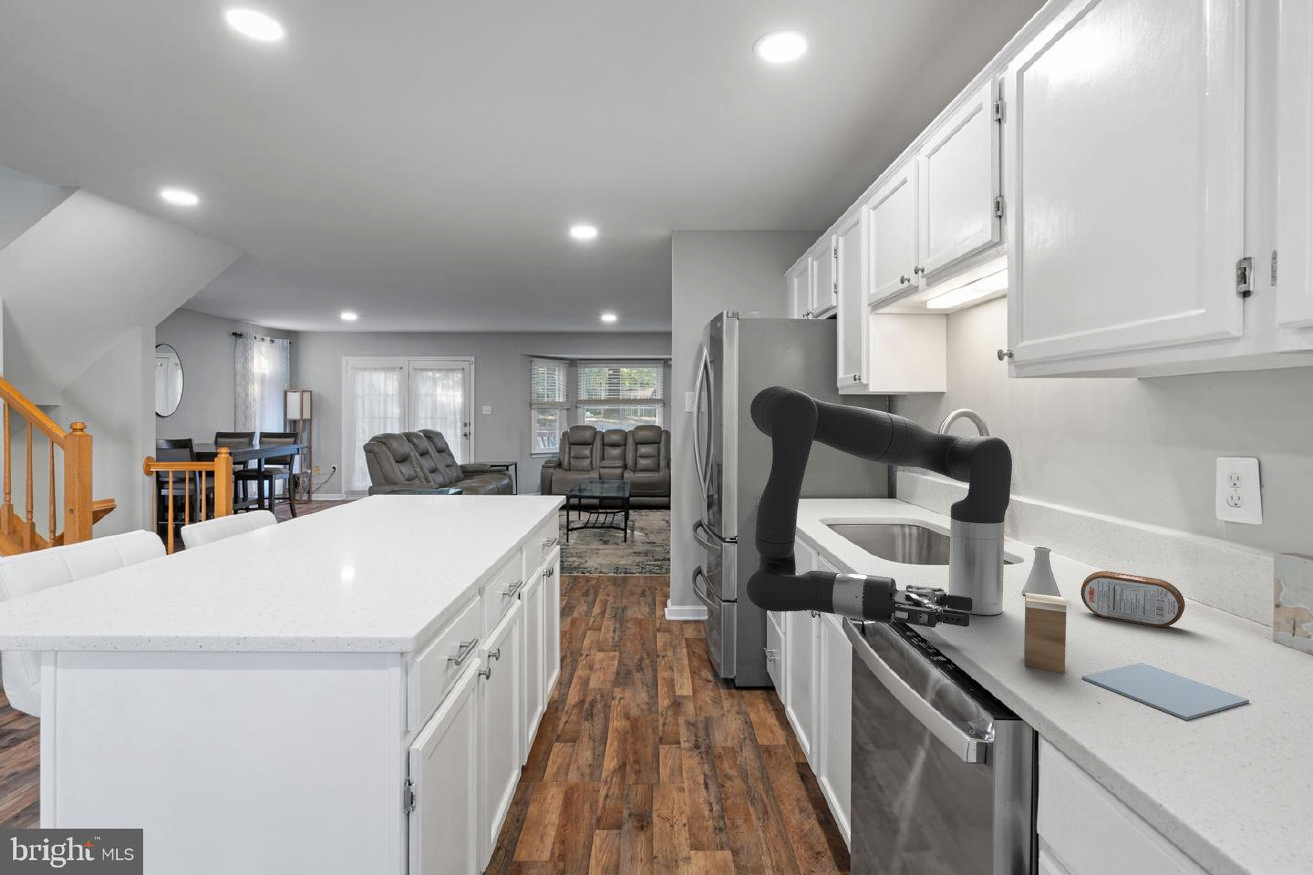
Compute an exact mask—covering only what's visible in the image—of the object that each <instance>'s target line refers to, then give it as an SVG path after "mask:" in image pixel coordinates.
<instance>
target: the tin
mask: <svg viewBox="0 0 1313 875" xmlns="http://www.w3.org/2000/svg"><path fill="white" fill-rule="evenodd" d="M1080 597H1081V600H1082V602H1083V604H1084V606H1085V607H1086V608H1087V609H1088V610H1089V611H1090V612H1092V613H1093V614H1095V615H1096V616H1098V617H1101V618H1106V619H1109V620H1115V621H1122V622H1126V623H1132V624H1137V625H1142V626H1149V627H1154V628H1166V627H1170V626H1173V625H1174V624H1176V623H1177V622H1178V621H1179V620H1180V619H1181V618H1182V617H1183V616H1182V615H1183V613H1184V612H1185V608H1186V603H1185V602H1186V601H1185V599H1184V596H1183V594H1182V593H1181V592H1180V590H1179V588H1178V587H1176V586H1175V585H1174V584H1172V583H1170V582H1168V581H1167V580H1164V579H1161V578H1155V577H1148V576H1143V575H1134V574H1128V573H1123V572H1114V571H1107V570H1102V571H1101V570H1099V571H1095V572H1092V573H1091V574H1089V575H1087V576H1086V578H1085V579H1084V580H1083V582H1082V585H1081V589H1080Z"/></svg>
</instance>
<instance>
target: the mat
mask: <svg viewBox="0 0 1313 875" xmlns="http://www.w3.org/2000/svg"><path fill="white" fill-rule="evenodd" d="M1081 680H1085V681H1086V682H1089V683H1090V684H1091V683H1092V684H1094V685H1096V686H1099V687H1101V688H1104V689H1107V690H1109V691H1112V692H1114V693H1116V694H1118V695H1119V694H1120V695H1121V696H1125V697H1127V698H1129V699H1132V700H1135V701H1137V702H1139V703H1142V704H1144V705H1146V706H1150V707H1152V708H1154V709H1157V710H1159V711H1162V712H1164V713H1167V714H1169V715H1172V714H1173V716H1174V715H1175V717H1177V718H1179V719H1182V720H1185V721H1189V720H1193V719H1196V718H1199V717H1203V716H1207V715H1210V714H1213V713H1217V712H1220V711H1225V710H1227V709H1230V708H1232V709H1233V708H1235V707H1238V706H1241V705H1245V704H1248V703H1249V704H1250V699H1248V698H1246V697H1243V696H1240V695H1238V694H1235V693H1231V692H1229V691H1225V690H1222V689H1220V688H1217V687H1215V686H1214V687H1213V686H1211V685H1208V684H1205V683H1202V682H1199V681H1198V680H1197V681H1196V680H1193V679H1190V678H1188V677H1185V676H1182V675H1179V674H1176V673H1174V672H1170V671H1167V670H1164V669H1162V668H1159V667H1155V666H1153V665H1150V664H1148V663H1147V664H1146V663H1144V662H1138V663H1135V664H1134V663H1133V664H1130V665H1126V666H1125V665H1124V666H1121V667H1116V668H1111V669H1107V670H1102V671H1099V672H1098V671H1097V672H1093V673H1089V674H1084V675H1081Z"/></svg>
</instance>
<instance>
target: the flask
mask: <svg viewBox="0 0 1313 875" xmlns="http://www.w3.org/2000/svg"><path fill="white" fill-rule="evenodd" d="M1032 548H1033V550H1034V559H1033V564H1032V566H1031V569H1030V571H1029V572H1028V573H1029V574H1028V576H1027V578H1026V581H1025V583H1024V585H1023V586H1022V589H1021V594H1022V595H1023V596H1025V593H1032V594H1040V595H1049V596H1057V597H1062V595H1061V592H1060V589H1059V587H1058V584H1057V581H1056V579H1055V576H1054V573H1053V569H1052V566H1051V561H1050V553H1051V552H1052V548H1051V547H1048V546H1043V545H1042V546H1038V545H1036V546H1033V547H1032Z"/></svg>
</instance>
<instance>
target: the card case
mask: <svg viewBox="0 0 1313 875" xmlns="http://www.w3.org/2000/svg"><path fill="white" fill-rule="evenodd" d="M1024 597H1025V598H1024V635H1023V637H1024V639H1023V641H1024V644H1023V645H1024V648H1023V661H1024V667H1025V668H1030V669H1037V670H1043V671H1049V672H1054V673H1061V674H1066V645H1067V644H1066V640H1067V637H1066V636H1067V602H1066V600H1065V596H1064V597H1063V596H1061V597H1057V596H1049V595H1040V594H1032V593H1025V595H1024Z"/></svg>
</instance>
